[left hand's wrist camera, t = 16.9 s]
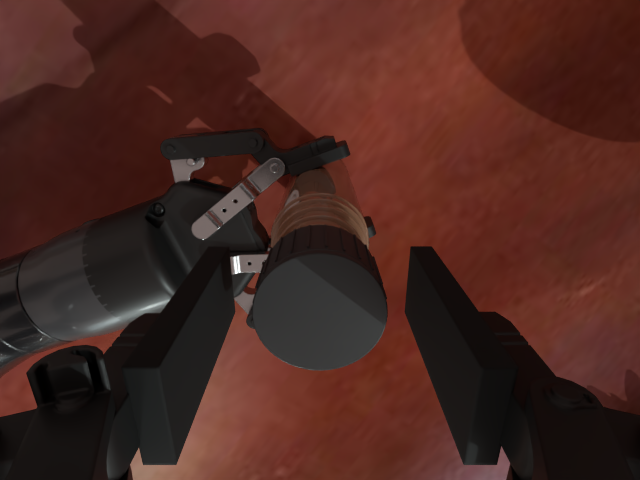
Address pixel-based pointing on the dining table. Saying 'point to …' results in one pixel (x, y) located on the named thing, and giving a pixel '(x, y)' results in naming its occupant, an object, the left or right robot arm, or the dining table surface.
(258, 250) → the right robot arm
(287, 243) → the cap
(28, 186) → the dining table surface
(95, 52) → the dining table surface
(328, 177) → the bottle
